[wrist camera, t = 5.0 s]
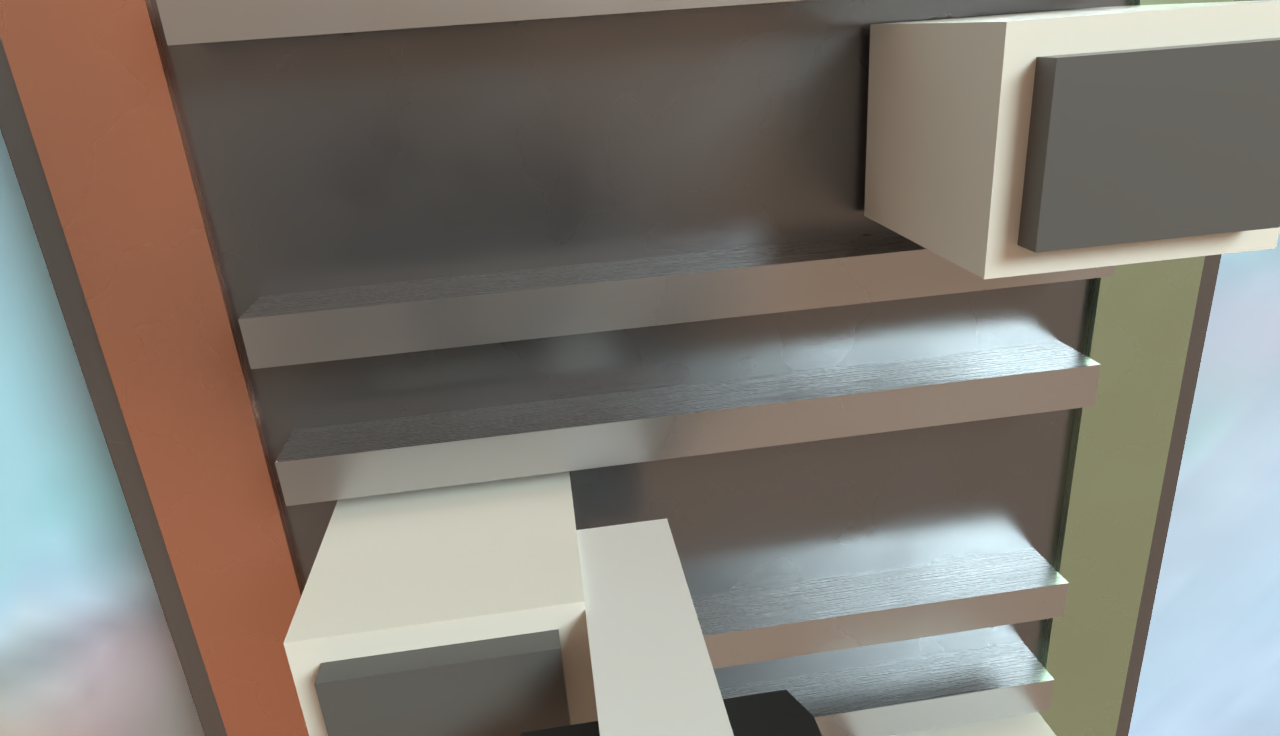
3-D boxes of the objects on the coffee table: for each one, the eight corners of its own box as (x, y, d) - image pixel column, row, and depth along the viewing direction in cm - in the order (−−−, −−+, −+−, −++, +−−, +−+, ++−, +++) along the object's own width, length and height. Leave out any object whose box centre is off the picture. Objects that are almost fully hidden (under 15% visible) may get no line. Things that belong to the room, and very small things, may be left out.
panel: (309, 901, 21) (275, 1041, 18) (4, -90, 13) (-146, -125, 10) (1061, 774, 23) (1140, 882, 20) (1209, -156, 15) (1378, -202, 12)
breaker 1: (372, 630, 16) (324, 832, 12) (340, 492, 15) (275, 663, 11) (583, 601, 16) (605, 787, 12) (568, 464, 15) (587, 620, 11)
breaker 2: (864, 215, 14) (1000, 287, 10) (870, 24, 13) (1026, 21, 9) (1086, 193, 15) (1302, 255, 11) (1110, 6, 14) (1361, -5, 10)
